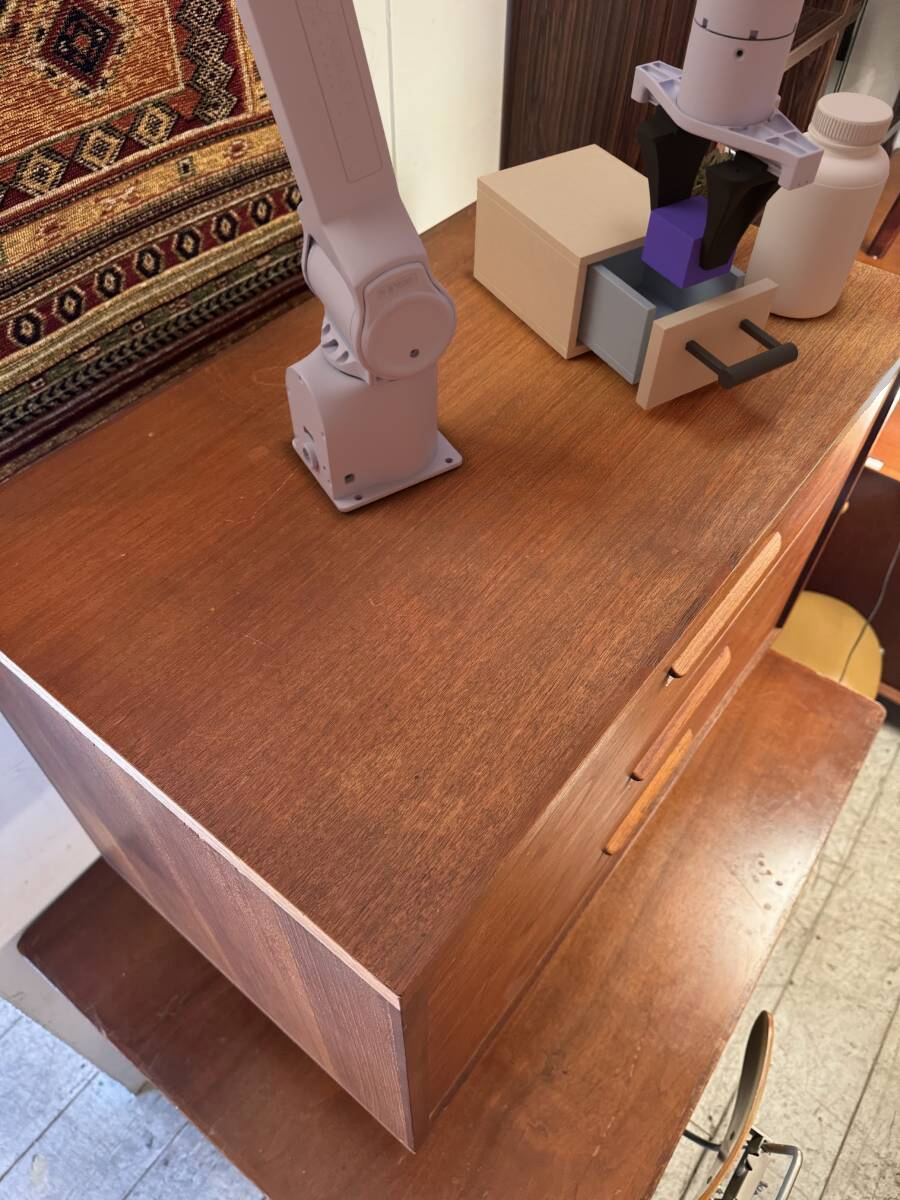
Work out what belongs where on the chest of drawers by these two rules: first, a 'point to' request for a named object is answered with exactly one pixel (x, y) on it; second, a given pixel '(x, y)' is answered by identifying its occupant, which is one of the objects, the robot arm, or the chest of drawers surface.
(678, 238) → the violet cube
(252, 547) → the chest of drawers surface
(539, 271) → the drawer cabinet
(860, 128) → the pill bottle
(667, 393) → the drawer
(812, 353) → the chest of drawers surface
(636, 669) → the chest of drawers surface
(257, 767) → the chest of drawers surface
